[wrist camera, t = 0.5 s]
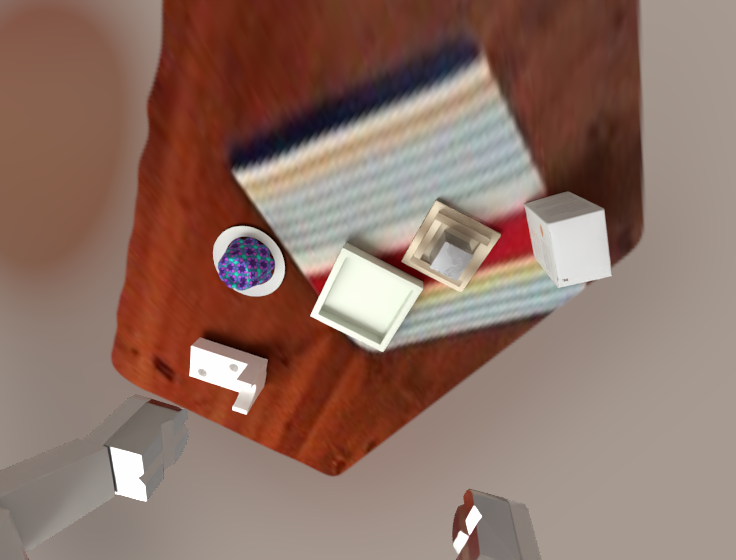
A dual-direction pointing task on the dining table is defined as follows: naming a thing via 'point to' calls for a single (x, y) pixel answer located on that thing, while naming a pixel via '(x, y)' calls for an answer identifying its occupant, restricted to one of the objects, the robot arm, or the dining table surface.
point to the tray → (366, 297)
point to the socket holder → (458, 226)
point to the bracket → (229, 370)
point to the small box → (569, 238)
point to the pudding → (248, 261)
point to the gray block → (450, 255)
